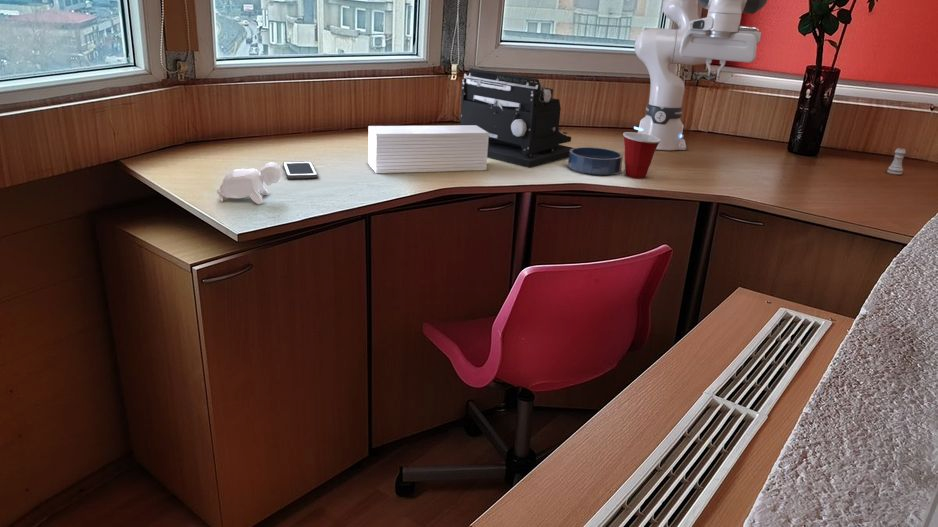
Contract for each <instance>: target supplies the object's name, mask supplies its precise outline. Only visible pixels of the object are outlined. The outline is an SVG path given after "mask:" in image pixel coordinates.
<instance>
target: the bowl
mask: <svg viewBox="0 0 938 527" xmlns="http://www.w3.org/2000/svg"><path fill="white" fill-rule="evenodd" d="M567 159H568V160H567V167H568V168H569V169H571V170H574V171H575V172H577V173H581V174H586V175H592V176H609V175H610V176H611V175H615V174H619V173H620V172H621V171H622V166H623V159H624V155H623V153H621V152H619V151H616V150H614V149H608V148H602V147H594V146H580V147H573V149H570V150H569V158H567Z"/></svg>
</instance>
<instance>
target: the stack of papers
mask: <svg viewBox="0 0 938 527" xmlns="http://www.w3.org/2000/svg"><path fill="white" fill-rule="evenodd" d="M367 129H368V134H367V135H368V137H367V138H368V140H367V141H368V142H367V143H368V144H367V145H368V146H367V149H368V150H367V151H368V152H367V154H368V155H367V156H368V157H367V163H368V164H367V165H369V167H370V168H371V169H372V170H373V171H374V172H375V174H393V173H395V174H398V173H432V172H433V173H435V172H436V173H437V172H464V171H468V172H469V171H470V172H471V171H487V167H488V157H487V153H488V147H487V146H488V139H489V137H488V136H489V133H488V132H487V131H485V130H483V129H482V128H480V127H478V126H477V125H460V124H459V125H458V124H457V125H455V124H454V125H450V124H449V125H368V127H367Z"/></svg>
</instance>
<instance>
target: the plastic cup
mask: <svg viewBox="0 0 938 527" xmlns="http://www.w3.org/2000/svg"><path fill="white" fill-rule="evenodd" d="M622 135H623V141H624V143H623V145H624V173H625V176H626V177H627V178H630V179H638V180H639V179H640V180H641V179H645V178H646V177H647V175H648V172H649V169H650V166H651V163H652V161H653V157H654V155H655V152H656V150H657V149H656V148H657V146H658V144H659V143H660V142H661V139H659V138H657V137H654V136H651V135H647V134H643V133H638V132H636V131H635V132H633V131H625V132H623V133H622Z"/></svg>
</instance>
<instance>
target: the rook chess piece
mask: <svg viewBox="0 0 938 527" xmlns="http://www.w3.org/2000/svg"><path fill="white" fill-rule="evenodd" d="M894 153H895V154H894V155H893V161H892V162H891V164H890V166H888V167H887V170H886V173H887V174H890V175H893V176H901V175H902V174H903V171H904V169H903V160H904V158H905V157H904V155H906V154H907V152H906V149H905V148H898V147H896V149H895V150H894Z"/></svg>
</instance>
